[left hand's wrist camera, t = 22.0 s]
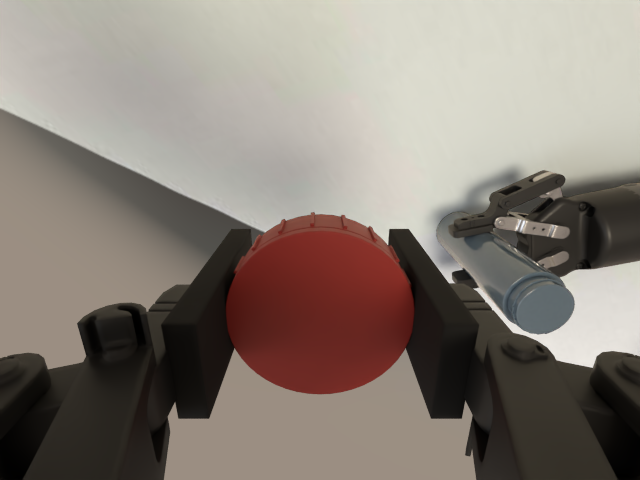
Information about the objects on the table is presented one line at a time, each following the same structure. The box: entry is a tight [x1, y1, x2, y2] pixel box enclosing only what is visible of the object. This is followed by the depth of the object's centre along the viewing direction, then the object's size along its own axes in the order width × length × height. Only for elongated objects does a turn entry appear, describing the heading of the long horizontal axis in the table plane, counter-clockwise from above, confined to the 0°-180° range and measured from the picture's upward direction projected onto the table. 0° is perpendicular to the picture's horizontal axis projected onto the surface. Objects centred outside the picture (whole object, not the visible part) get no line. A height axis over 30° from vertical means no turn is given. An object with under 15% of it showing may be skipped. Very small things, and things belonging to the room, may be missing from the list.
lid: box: [226, 212, 415, 394], centre depth 11 cm, size 6×6×2 cm
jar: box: [437, 212, 575, 334], centre depth 33 cm, size 5×5×18 cm
